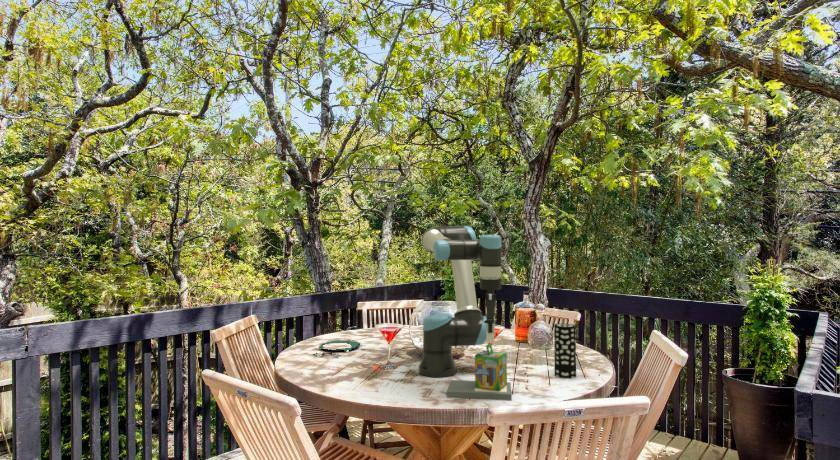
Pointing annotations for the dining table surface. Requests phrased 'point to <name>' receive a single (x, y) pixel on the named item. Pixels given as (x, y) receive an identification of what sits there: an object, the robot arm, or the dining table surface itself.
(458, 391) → the slate board
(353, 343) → the green piece
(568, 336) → the white-spotted black cylinder
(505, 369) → the chalk box
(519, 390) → the dining table surface
